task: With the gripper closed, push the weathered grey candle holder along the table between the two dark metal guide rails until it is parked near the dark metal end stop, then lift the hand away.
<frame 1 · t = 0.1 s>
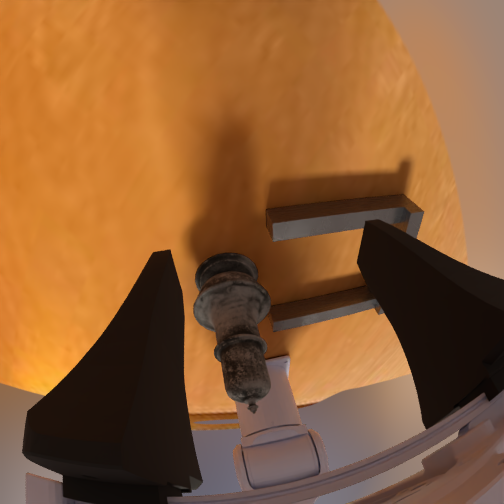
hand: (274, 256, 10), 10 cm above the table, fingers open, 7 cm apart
weathered grey candle holder: (226, 276, 24), on the table
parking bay: (332, 260, 25), on the table
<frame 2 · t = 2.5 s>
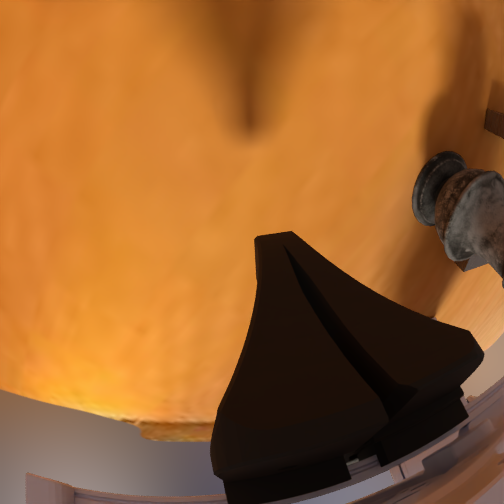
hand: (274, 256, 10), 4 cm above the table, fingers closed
weathered grey candle holder: (439, 188, 15), on the table
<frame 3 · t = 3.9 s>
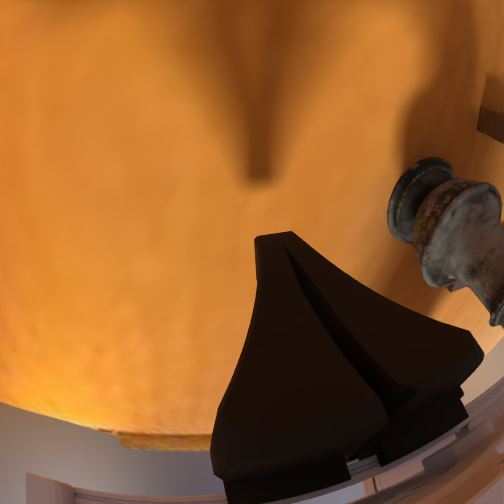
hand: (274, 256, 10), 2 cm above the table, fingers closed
weathered grey candle holder: (422, 200, 13), on the table
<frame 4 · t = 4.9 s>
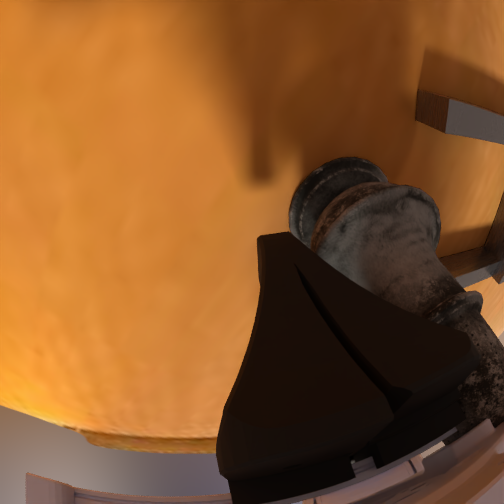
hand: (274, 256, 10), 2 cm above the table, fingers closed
weathered grey candle holder: (341, 209, 13), on the table, touching gripper
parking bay: (467, 199, 14), on the table
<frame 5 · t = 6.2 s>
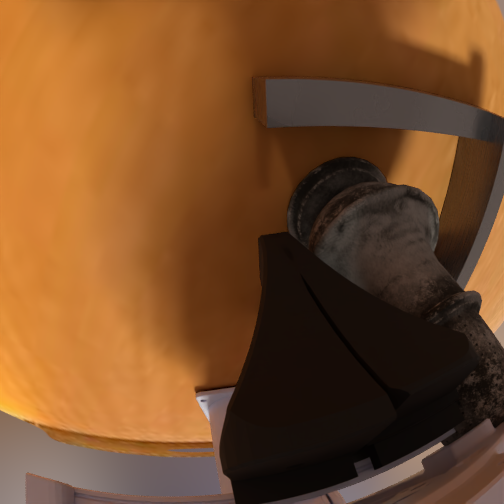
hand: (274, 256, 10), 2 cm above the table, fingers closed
weathered grey candle holder: (339, 209, 13), on the table, touching gripper
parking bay: (379, 208, 13), on the table
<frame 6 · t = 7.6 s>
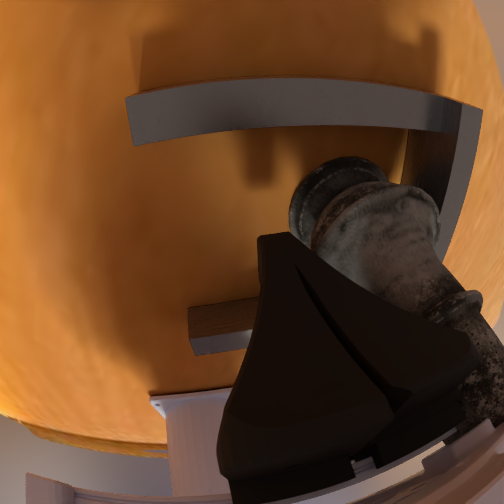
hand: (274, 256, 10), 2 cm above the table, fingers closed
weathered grey candle holder: (341, 208, 13), on the table, touching gripper
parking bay: (305, 216, 12), on the table
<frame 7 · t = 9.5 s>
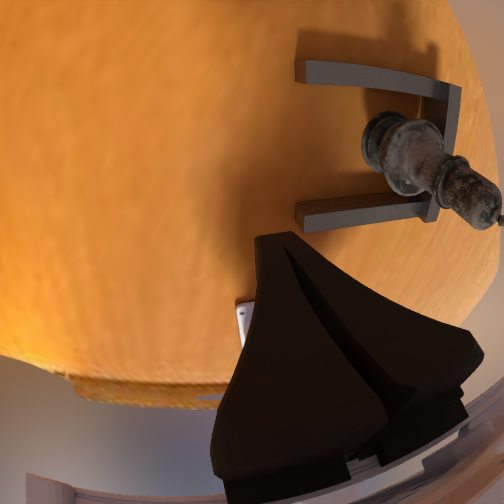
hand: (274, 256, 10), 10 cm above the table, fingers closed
weathered grey candle holder: (387, 142, 19), on the table
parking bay: (370, 143, 19), on the table
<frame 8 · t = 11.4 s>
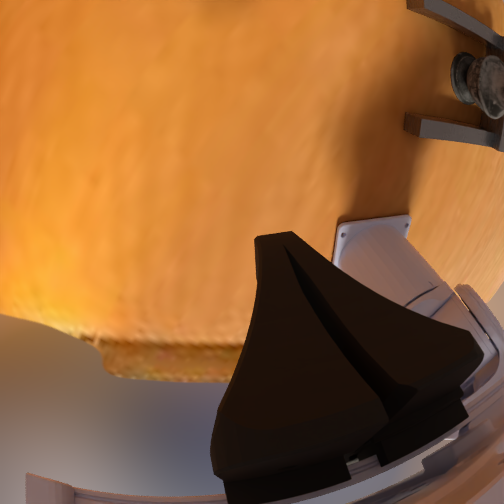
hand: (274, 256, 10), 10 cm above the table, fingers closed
weathered grey candle holder: (465, 78, 16), on the table
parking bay: (456, 74, 16), on the table
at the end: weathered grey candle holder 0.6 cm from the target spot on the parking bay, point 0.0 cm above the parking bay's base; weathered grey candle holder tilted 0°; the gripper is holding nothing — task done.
